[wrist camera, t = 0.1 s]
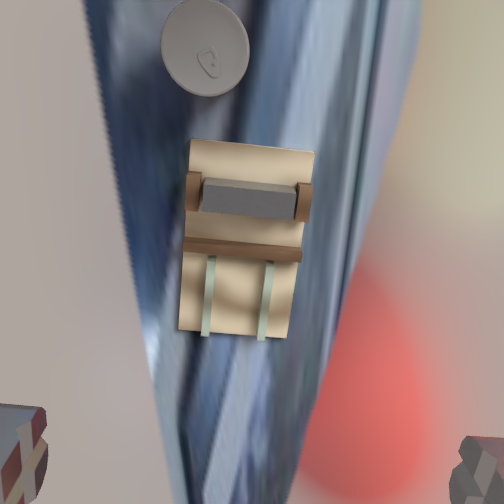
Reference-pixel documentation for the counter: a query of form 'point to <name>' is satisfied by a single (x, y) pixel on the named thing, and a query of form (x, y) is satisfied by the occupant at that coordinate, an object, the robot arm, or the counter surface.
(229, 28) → the canned food
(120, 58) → the counter surface
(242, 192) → the bar
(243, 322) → the lock board
